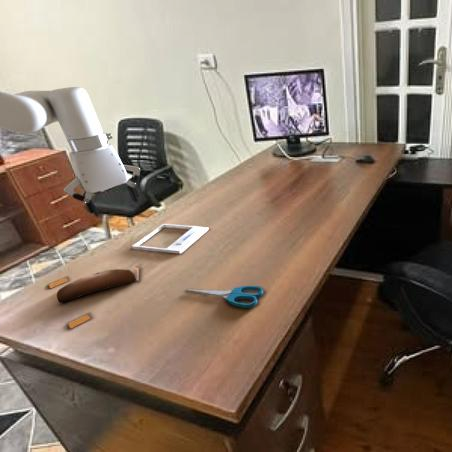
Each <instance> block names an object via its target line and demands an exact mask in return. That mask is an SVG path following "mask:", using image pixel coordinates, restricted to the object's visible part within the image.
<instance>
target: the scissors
mask: <svg viewBox="0 0 452 452" xmlns="http://www.w3.org/2000/svg"><path fill="white" fill-rule="evenodd" d="M186 290H187V292H191V293H197V294H205V295H210V296H216V297H221V298H223V299H225V300H226V302H227V303H229V305H233V306H235V307H237V308H244V309H251V308H253V307H255V306H257V304H258V299H259V298H260V297H262V296H263V295H264V290H263V287H262V286H259V285H244V286H243V285H242V286H238V287H234V288H233V289H229V290H215V289H214V290H213V289H211V290H210V289H194V288H193V289H192V288H191V289H190V288H187V289H186ZM244 291H259V292H257V293H247V292H244ZM238 300H251V301H252V302H249V303H244V302H238Z"/></svg>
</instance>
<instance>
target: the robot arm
mask: <svg viewBox="0 0 452 452" xmlns="http://www.w3.org/2000/svg"><path fill="white" fill-rule="evenodd" d="M57 122H58V124H59V126H60V128H61V130H62V132H63V135H64V137H65V139H66V141H67V143H68V145H69V147H70V150H71V151H70V152H69V153H68V155H69V160H70V165H71V166H72V169H73V172H74V174H75V178H74V179H73V180H72V181H71V182H69V183H68V184H67V185H66V186H65V187H64V188H63V191H64V193H66V194H68V195H69V196H70V197H72V198H73V199H75V200H77V201H80V202H83V203H84V204H85V206H86V209H87V210H88V213H89V214H91V215H94V216H95V217H99V216H100V213H99V211H98V209H97V207H96V204H95V202H94V201H93V200H92V197H93V194H94V193H98V192H101V191H102V192H103V191H105V190H108V189H112V188H114V187H117V186H121V185H123V184H125V185H127V187H126V188H127V191H128V193H129V196H130V199H131V201H133V202H134V203H139V198H140V195H139V193H138V190H137V188H136V187H137V184H138V182H139V181H140V175H141V168H140V167H138V166H134V165H127V164H123V162H122V160H121V158H120V156H119V154H118V153H117V151H116V150H115V147H114V146H113V144H112V143H109V141H110V140H111V139H113V134H112V133H110V132H108V133H105V132H104V131H103V128H102V126H101V123H100V121H99V119H98V116H97V113H96V111H95V108H94V106H93V104H92V101H91V98H90V96H89V94H88V92H87V91H86V89H84V88H83V87H80V86H70V87H62V88H56V89H52V90H26V91H25V90H24V91H22V92H18V93H14V94H13V93H10V92H6V91H3V90H0V129H1V130H5V131H10V132H14V133H20V134H31V133H36V132H38V131H40V130H42V129H44V128H45V127H47V126H49V125H51V124H53V123H57ZM127 171H128V172H132V175H131V178H130V179H129V175H128V173H127ZM78 186H80V188H81V189H82V190H83V192H82V194H80V193H78V192H76V191H75V189H77V187H78Z"/></svg>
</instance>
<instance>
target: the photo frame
mask: <svg viewBox="0 0 452 452" xmlns="http://www.w3.org/2000/svg"><path fill="white" fill-rule="evenodd" d="M164 228H169V229H170V228H172V229H183V230H188V231H186V232H185V233H184V234H183V235H181V236H180V237H179V238H177V239H176V240H175V241H174V242H173V243H171V244H170V245H169V246H167V247H166V248H165V247H157V246H156V247H155V246H145V245H142V244H144V242H146V241H147V240H149V239H151V237H153V236H154V235H155V234H157V233H159V232H160V231H162V229H164ZM209 229H210V228H209V227H208V226H196V225H187V224H186V225H184V224H172V223H162V224H161V225H160V226H158V227H157V228H155V229H154V230H152V231H150V232H149V233H148V234H146V235H145V236H143V237H142V238H140V240H138V241H137V242H135V243H134V244H132V245H131V248H132V249H133V250H142V251H152V252H160V253H169V254H182V253H184V251H186V250H187V249H188V248H189V247H190V246H192V244H194V243H195V242H197V240H199V239H200V238H201V237H202V236H203V235H204V234H206V233H207V232H208V231H209Z"/></svg>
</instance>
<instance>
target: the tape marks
mask: <svg viewBox="0 0 452 452" xmlns="http://www.w3.org/2000/svg"><path fill="white" fill-rule="evenodd" d="M67 282H68V279H67V278H66V277H63V278H61V279H59V280H56V281H54V282H52V283H50V284H48V287H49V288H50V289H53V288H56V287H57V286H59V285H62V284H65V283H67ZM90 320H91V318H90V316H89V315H88V314H85V315H82V316H81V317H78V318H76V319H74V320H72V321H70V322H68V327H69V329H70V330H72V329H74V328H76V327H77V326H79V325H82V324H83V323H86V322H88V321H90Z"/></svg>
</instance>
